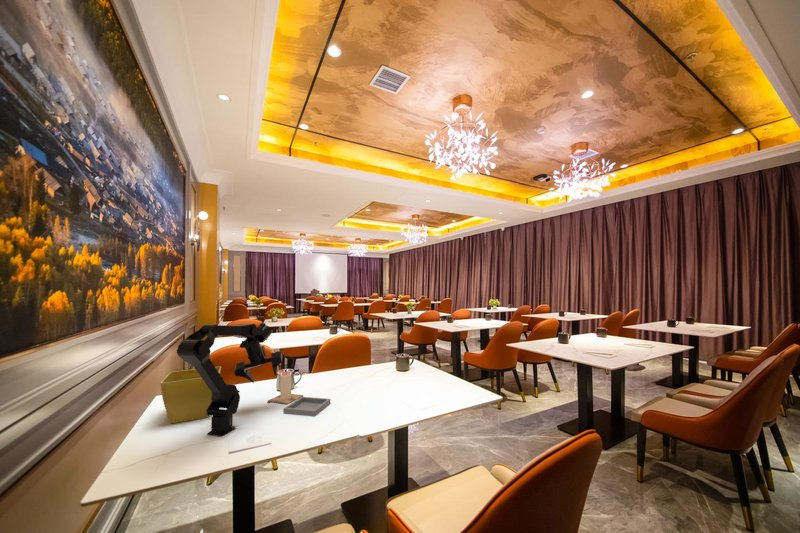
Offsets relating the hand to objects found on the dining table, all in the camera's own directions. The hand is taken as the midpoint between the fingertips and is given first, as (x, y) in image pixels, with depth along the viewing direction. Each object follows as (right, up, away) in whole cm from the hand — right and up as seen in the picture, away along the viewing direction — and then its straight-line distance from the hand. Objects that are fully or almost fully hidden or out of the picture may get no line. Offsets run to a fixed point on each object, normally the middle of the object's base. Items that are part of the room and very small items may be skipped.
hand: (264, 378), depth 135 cm
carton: (+7, -12, +7) cm, 15 cm away
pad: (+7, -13, +7) cm, 16 cm away
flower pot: (-26, -12, -9) cm, 30 cm away
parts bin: (+20, -12, -4) cm, 24 cm away
